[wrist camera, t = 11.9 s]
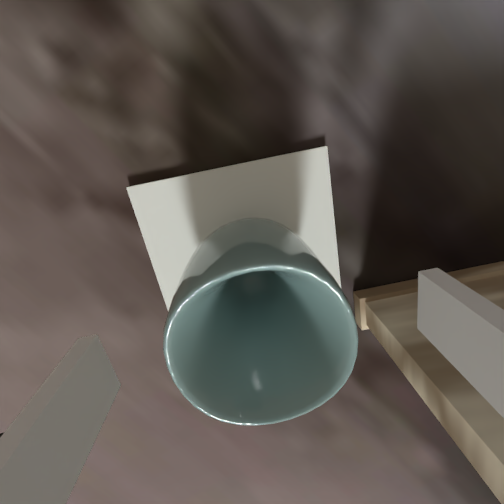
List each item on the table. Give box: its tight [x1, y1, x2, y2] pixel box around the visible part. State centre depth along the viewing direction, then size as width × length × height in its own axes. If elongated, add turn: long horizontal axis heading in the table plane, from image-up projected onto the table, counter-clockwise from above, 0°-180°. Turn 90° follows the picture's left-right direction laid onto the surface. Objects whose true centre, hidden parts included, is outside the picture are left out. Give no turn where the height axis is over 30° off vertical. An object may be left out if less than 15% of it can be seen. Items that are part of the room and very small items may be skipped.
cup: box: [163, 217, 358, 426], centre depth 16 cm, size 8×8×10 cm
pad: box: [126, 146, 341, 311], centre depth 21 cm, size 13×13×1 cm
